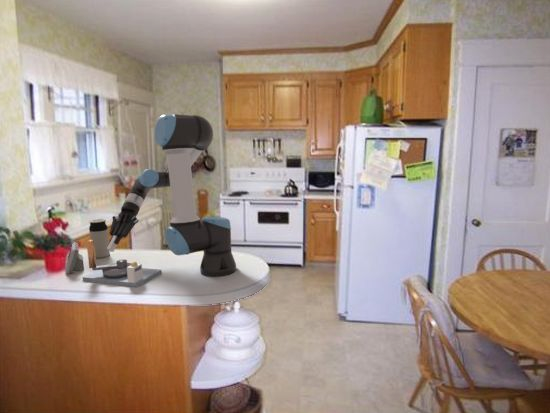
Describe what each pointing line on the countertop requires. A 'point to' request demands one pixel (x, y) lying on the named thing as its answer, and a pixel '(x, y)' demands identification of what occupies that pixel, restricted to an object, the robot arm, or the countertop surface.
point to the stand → (134, 277)
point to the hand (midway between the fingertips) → (110, 250)
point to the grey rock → (74, 260)
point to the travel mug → (99, 237)
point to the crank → (108, 270)
